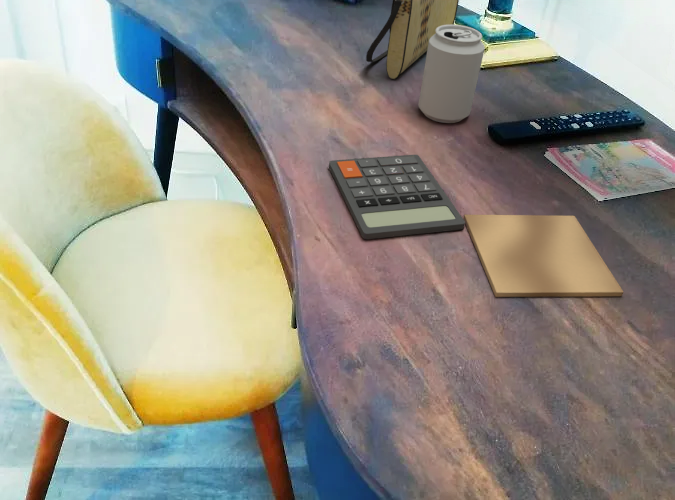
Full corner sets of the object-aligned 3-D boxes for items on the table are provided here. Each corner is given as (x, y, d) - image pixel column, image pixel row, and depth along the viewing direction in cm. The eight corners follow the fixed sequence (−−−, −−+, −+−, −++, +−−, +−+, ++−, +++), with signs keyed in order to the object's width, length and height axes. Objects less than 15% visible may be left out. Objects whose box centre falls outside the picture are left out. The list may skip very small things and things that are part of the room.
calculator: (418, 152, 81) (466, 222, 70) (416, 159, 82) (465, 228, 71) (328, 159, 78) (364, 232, 67) (328, 165, 79) (363, 239, 68)
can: (412, 101, 96) (425, 20, 88) (461, 102, 97) (478, 22, 89) (423, 125, 90) (438, 40, 82) (475, 126, 91) (494, 42, 83)
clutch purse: (420, 24, 123) (434, -61, 113) (455, 32, 121) (472, -54, 111) (353, 76, 101) (363, -24, 92) (394, 87, 99) (408, -14, 90)
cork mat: (573, 219, 74) (574, 215, 74) (621, 296, 64) (624, 292, 64) (462, 218, 73) (464, 214, 72) (495, 297, 62) (496, 292, 62)
